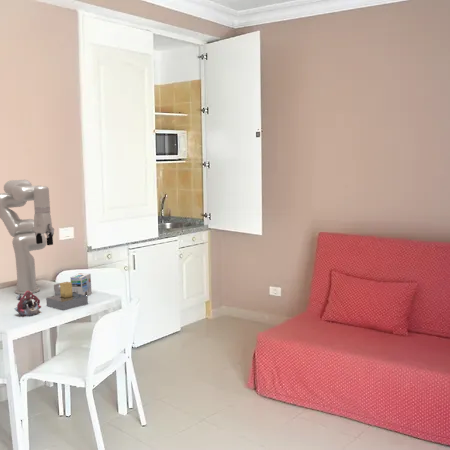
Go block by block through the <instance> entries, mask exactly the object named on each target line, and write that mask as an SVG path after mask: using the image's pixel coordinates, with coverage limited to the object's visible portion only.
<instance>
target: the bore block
mask: <svg viewBox="0 0 450 450" xmlns="http://www.w3.org/2000/svg"><path fill="white" fill-rule="evenodd" d="M72 296H73V297H71V298H67V299H64V298H61V295H57V296H55V295H53V296H49V297H46V298H45V299H46V302H45V303H46V307H50V308H53V309H58V310H60V311H66V310H70V309H73V308H77V307H81V306H86V305H88V304H89V301H88V300H89V299H88V295H87V296H86V295H81V294H77V293H72Z"/></svg>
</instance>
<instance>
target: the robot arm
mask: <svg viewBox="0 0 450 450" xmlns="http://www.w3.org/2000/svg"><path fill="white" fill-rule="evenodd" d="M3 190H4V192H1V193H0V220H1V221H2V222H3V224H4V226H5V227H6V229H7V232H8V233H9V235H10V236H11V237H12V238H13V239H12V241H11V242H12V247H13V251H14V257H15V264H16V265H15V268H16V281H17V283H16V285H15V286H16V287H17V289H15V290H14V293H15V294H17V295H18V294H20V295H24V294H25V292H26V291H30V292H31V293H32V294H34V293H37V292H40V287H37V279H36V264H35V263H36V262H35V258H34V256H33V255H32V254H31V252H32V251H39V250H43V249H44V248H46V246H52V245H54V234H55V233H54V232H55V228H54V227H53V222H52V216H51V201H50V188H49V186H46V185H43V186H42V185H33V184H32V182H30V180H28V179H11V180H9V181H6V182H5V183H4V184H3ZM29 201H33V207H34V215H33V218H28V219H22V218H21V217H19V214H18V213H17V212H15V211H14V210H13V209H12V208H22V207H24V206H25V205H26V204H27V202H29ZM27 294H28V293H27Z"/></svg>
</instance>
